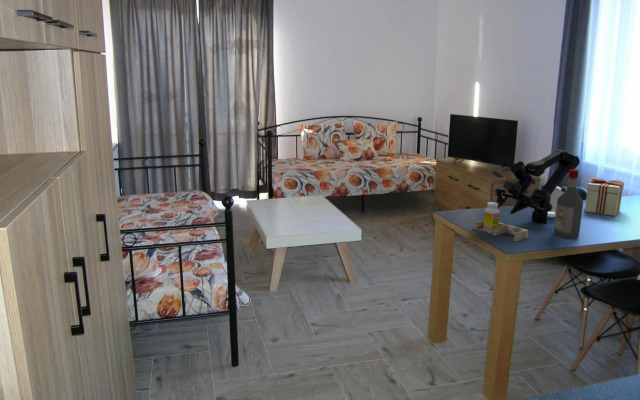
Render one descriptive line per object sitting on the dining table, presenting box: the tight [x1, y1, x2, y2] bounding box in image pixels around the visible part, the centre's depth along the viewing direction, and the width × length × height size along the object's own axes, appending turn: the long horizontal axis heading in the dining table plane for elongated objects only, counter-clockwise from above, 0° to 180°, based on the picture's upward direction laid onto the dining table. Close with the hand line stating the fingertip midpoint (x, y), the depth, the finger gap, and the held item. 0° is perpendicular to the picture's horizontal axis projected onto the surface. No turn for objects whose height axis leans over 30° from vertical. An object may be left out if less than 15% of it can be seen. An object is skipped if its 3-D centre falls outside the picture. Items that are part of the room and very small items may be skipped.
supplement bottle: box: [483, 201, 501, 232], centre depth 245 cm, size 7×7×13 cm
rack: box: [474, 219, 529, 242], centre depth 242 cm, size 22×9×4 cm, turn 37°
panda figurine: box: [540, 183, 567, 218], centre depth 272 cm, size 12×11×15 cm
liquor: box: [553, 168, 584, 240], centre depth 236 cm, size 9×9×30 cm
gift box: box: [584, 177, 625, 217], centre depth 280 cm, size 17×18×17 cm
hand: (503, 211), depth 247 cm, fingers open, 9 cm apart
